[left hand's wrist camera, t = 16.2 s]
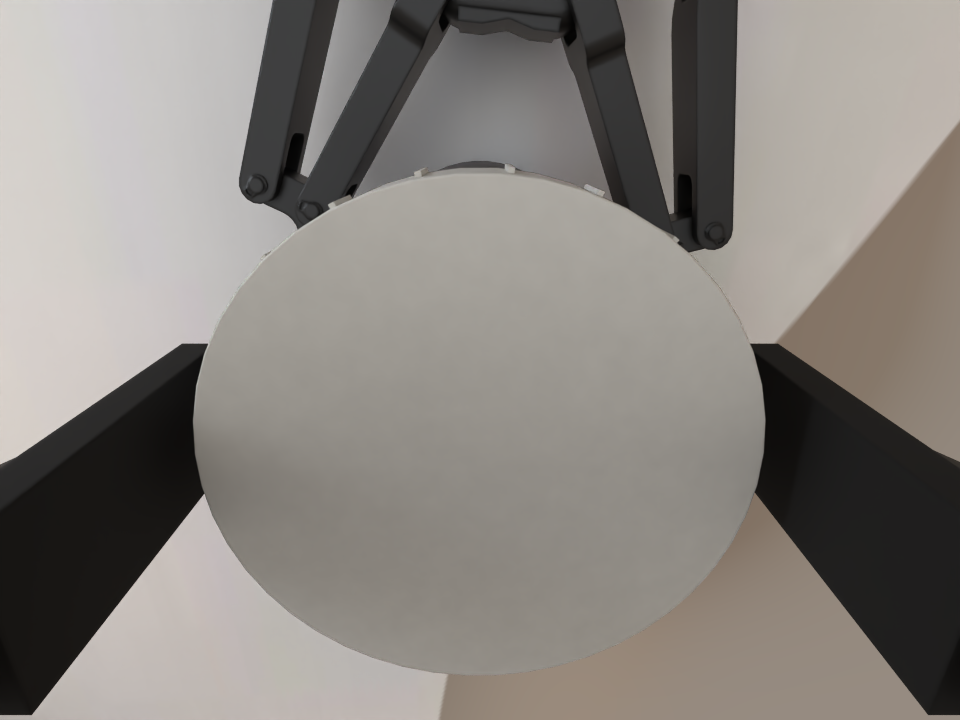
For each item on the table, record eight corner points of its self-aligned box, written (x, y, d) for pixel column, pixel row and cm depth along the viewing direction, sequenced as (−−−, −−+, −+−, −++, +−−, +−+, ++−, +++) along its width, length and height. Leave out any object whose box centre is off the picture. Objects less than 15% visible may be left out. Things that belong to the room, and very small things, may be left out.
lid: (764, 546, 13) (806, 606, 11) (350, 655, 14) (333, 723, 12) (671, 77, 9) (711, 64, 8) (133, 273, 11) (69, 299, 9)
